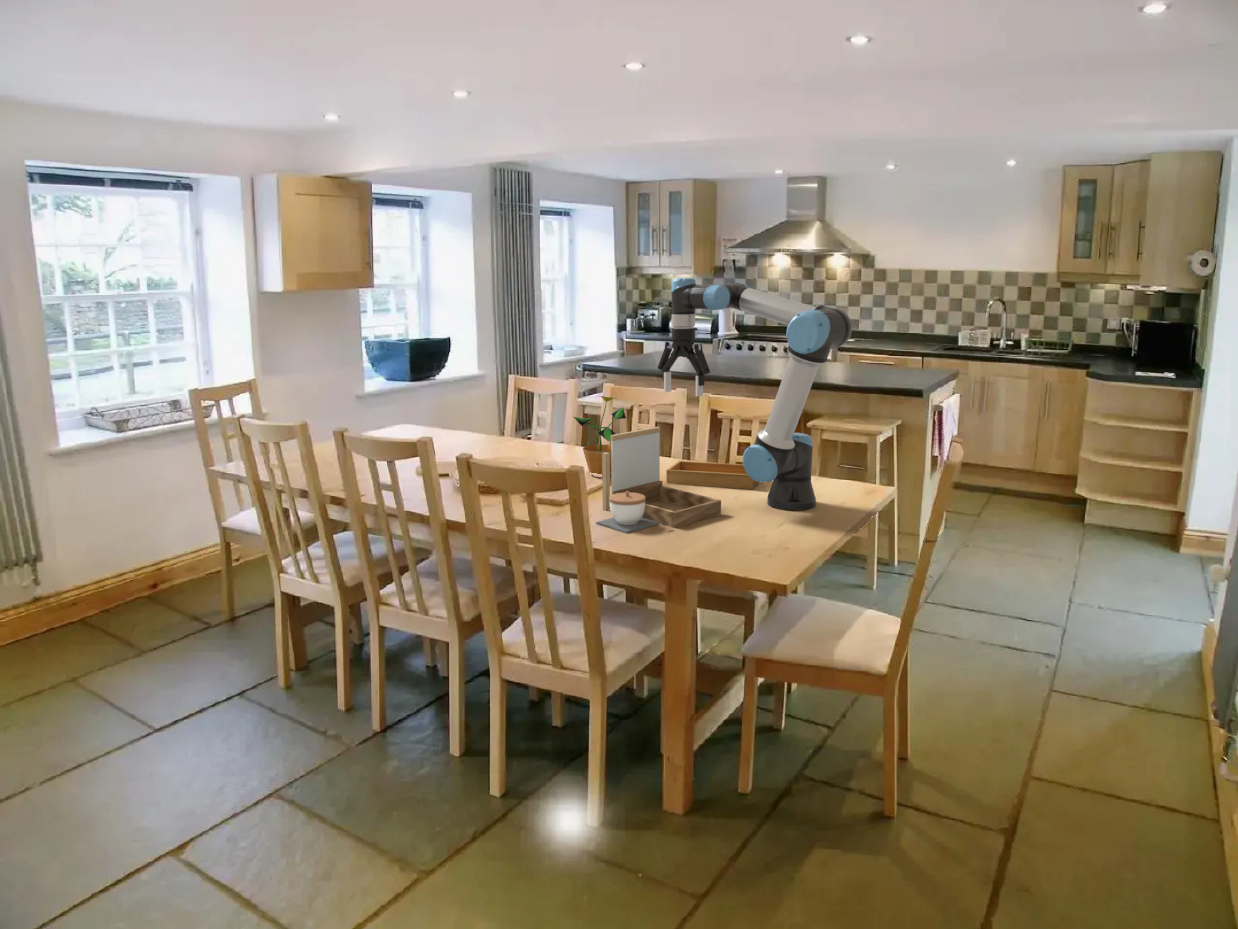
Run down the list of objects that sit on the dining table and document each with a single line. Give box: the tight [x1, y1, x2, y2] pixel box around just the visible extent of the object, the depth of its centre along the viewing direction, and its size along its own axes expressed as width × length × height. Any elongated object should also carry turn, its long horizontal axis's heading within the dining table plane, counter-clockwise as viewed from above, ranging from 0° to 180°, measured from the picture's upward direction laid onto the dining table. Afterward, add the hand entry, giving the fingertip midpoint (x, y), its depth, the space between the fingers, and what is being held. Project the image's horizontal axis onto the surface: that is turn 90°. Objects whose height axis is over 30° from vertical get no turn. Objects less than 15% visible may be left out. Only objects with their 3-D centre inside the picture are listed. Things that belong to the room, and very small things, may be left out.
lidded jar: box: [609, 491, 646, 525], centre depth 273 cm, size 11×11×9 cm
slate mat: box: [596, 517, 659, 534], centre depth 274 cm, size 13×13×1 cm
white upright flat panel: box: [601, 426, 661, 511], centre depth 293 cm, size 3×22×24 cm, turn 133°
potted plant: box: [573, 395, 627, 474], centre depth 331 cm, size 18×19×30 cm
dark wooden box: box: [613, 480, 722, 529], centre depth 285 cm, size 26×20×6 cm
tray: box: [665, 460, 760, 490], centre depth 323 cm, size 31×15×6 cm, turn 70°
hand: (683, 393), depth 299 cm, fingers open, 13 cm apart
